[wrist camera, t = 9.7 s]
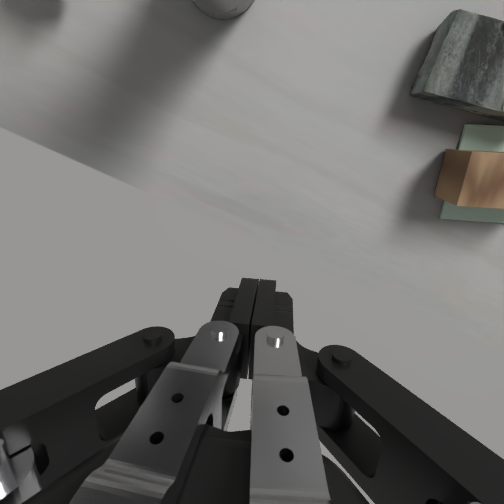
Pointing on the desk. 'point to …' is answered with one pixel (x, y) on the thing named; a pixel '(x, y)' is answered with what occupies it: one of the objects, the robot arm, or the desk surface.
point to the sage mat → (477, 141)
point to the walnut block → (472, 178)
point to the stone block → (465, 65)
